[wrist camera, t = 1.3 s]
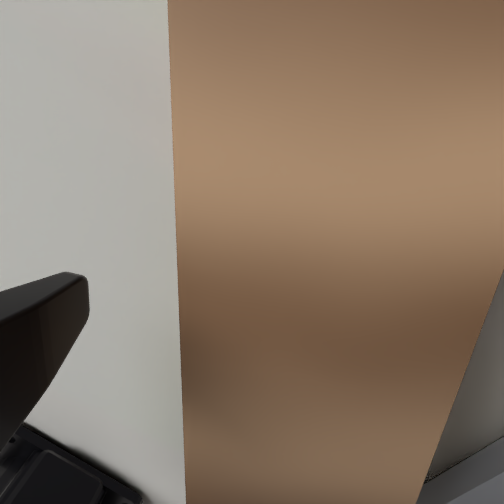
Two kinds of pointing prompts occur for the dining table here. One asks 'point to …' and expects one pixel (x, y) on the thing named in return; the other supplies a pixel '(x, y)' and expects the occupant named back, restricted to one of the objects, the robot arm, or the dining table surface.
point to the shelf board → (331, 237)
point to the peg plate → (470, 480)
